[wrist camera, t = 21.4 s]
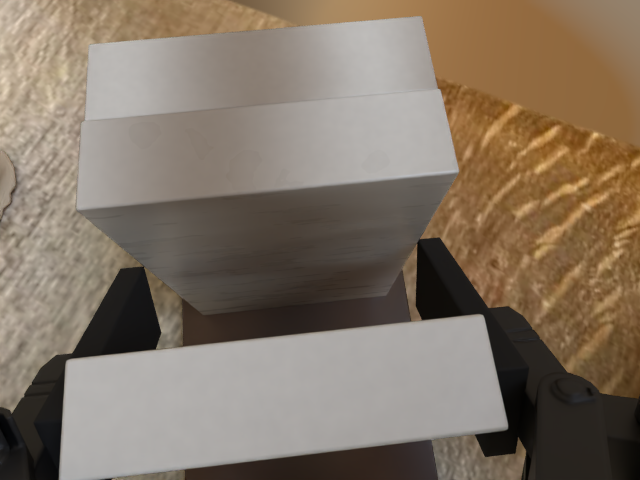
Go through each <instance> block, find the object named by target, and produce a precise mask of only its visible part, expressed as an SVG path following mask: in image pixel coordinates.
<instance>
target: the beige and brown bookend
mask: <svg viewBox="0 0 640 480" xmlns="http://www.w3.org/2000/svg"><path fill="white" fill-rule="evenodd" d="M84 120H85V121H82V122H81V126H80V143H79V160H78V176H77V193H76V210H77V211H78V212H79V213H80V214H82V215H83V216H84V217H85V218H86V219H88V220H89V221H90V222H91V223H92V224H94V225H95V226H96V227H97V228H98V229H100V230H101V231H102V232H103V233H105V234H106V235H107V236H108V237H109V238H111V239H112V240H113V241H114V242H115V243H117V244H118V245H119V246H120V247H121V248H123V249H124V250H125V251H126V252H128V253H129V254H130V255H131V256H132V257H134V258H135V259H136V260H137V261H138V262H140V263H141V264H142V265H143V266H144V267H146V268H147V269H148V270H149V271H151V272H152V273H153V274H154V275H155V276H157V277H158V278H159V279H160V280H161V281H163V282H164V283H165V284H166V285H167V286H169V287H170V288H171V289H172V290H173V291H175V292H176V293H177V294H178V295H180V296H181V297H182V315H183V346H193V345H202V344H211V343H220V342H229V341H238V340H247V339H256V338H266V337H275V336H284V335H293V334H302V333H311V332H320V331H329V330H339V329H348V328H357V327H366V326H375V325H384V324H393V323H402V322H411V318H410V312H409V306H408V300H407V295H406V289H405V283H404V277H403V271H402V268H403V266H404V264H405V263H406V261H407V259H408V258H409V256H410V254H411V253H412V251H413V249H414V248H415V246H416V244H417V242H418V241H419V239H420V237H421V236H422V234H423V232H424V231H425V229H426V227H427V226H428V224H429V222H430V220H431V219H432V217H433V215H434V214H435V212H436V210H437V209H438V207H439V205H440V204H441V202H442V200H443V199H444V197H445V195H446V193H447V192H448V190H449V188H450V187H451V185H452V183H453V182H454V180H455V178H456V177H457V175H458V173H459V168H458V164H457V160H456V155H455V151H454V146H453V142H452V138H451V133H450V129H449V124H448V120H447V115H446V111H445V107H444V102H443V98H442V93H441V90H440V89H438V87H437V83H436V78H435V74H434V69H433V65H432V60H431V56H430V52H429V47H428V42H427V38H426V34H425V29H424V25H423V20H422V17H421V16H417V17H405V18H394V19H382V20H370V21H359V22H348V23H336V24H323V25H312V26H299V27H288V28H276V29H264V30H252V31H241V32H229V33H217V34H205V35H193V36H182V37H170V38H158V39H146V40H135V41H123V42H111V43H99V44H90V45H89V49H88V66H87V84H86V101H85V119H84ZM185 480H438V476H437V470H436V464H435V458H434V452H433V447H432V441H431V440H424V441H416V442H408V443H400V444H391V445H383V446H375V447H367V448H358V449H350V450H342V451H334V452H325V453H317V454H309V455H301V456H292V457H284V458H276V459H268V460H259V461H251V462H243V463H234V464H226V465H218V466H210V467H201V468H193V469H185Z"/></svg>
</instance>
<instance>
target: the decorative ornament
mask: <svg viewBox="0 0 640 480" xmlns="http://www.w3.org/2000/svg"><path fill="white" fill-rule="evenodd" d="M15 187H16V178H15V169H14V166H13V163H12V162H11V160H10V159H9V157H8V156H7V154H6V153H5V152H4V151H0V221H1V218H2V214H3V210H4V208H6V207H7V206H8V205H9V204H10V203H11V192H12V191H13V189H14V188H15Z"/></svg>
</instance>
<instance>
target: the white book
mask: <svg viewBox="0 0 640 480" xmlns="http://www.w3.org/2000/svg"><path fill="white" fill-rule="evenodd" d="M507 429H508V422H507V417H506V413H505V408H504V404H503V399H502V395H501V390H500V386H499V381H498V377H497V372H496V368H495V363H494V359H493V354H492V350H491V345H490V341H489V336H488V332H487V327H486V323H485V318H484V316H483V315H480V314H475V315H466V316H457V317H448V318H439V319H430V320H421V321H412V322H402V323H393V324H384V325H375V326H366V327H357V328H348V329H339V330H329V331H320V332H311V333H302V334H293V335H284V336H275V337H266V338H256V339H247V340H238V341H229V342H220V343H211V344H202V345H193V346H183V347H174V348H165V349H156V350H147V351H138V352H129V353H120V354H110V355H101V356H92V357H83V358H74V359H69V360H67V361H66V365H65V381H64V398H63V415H62V432H61V449H60V465H59V480H102V479H111V478H119V477H127V476H135V475H144V474H152V473H160V472H168V471H177V470H185V469H193V468H201V467H210V466H218V465H226V464H234V463H243V462H251V461H259V460H268V459H276V458H284V457H292V456H301V455H309V454H317V453H325V452H334V451H342V450H350V449H358V448H367V447H375V446H383V445H391V444H400V443H408V442H416V441H424V440H433V439H441V438H449V437H457V436H466V435H474V434H482V433H490V432H499V431H505V430H507Z"/></svg>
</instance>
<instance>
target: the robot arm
mask: <svg viewBox="0 0 640 480" xmlns="http://www.w3.org/2000/svg"><path fill="white" fill-rule="evenodd" d="M416 308H417V310H418V312H419V314H420V316H421V319H422V320H430V319H439V318H448V317H457V316H466V315H475V314H480V315H483V316H484V318H485V323H486V327H487V332H488V336H489V341H490V345H491V350H492V354H493V359H494V363H495V368H496V372H497V377H498V381H499V386H500V390H501V395H502V399H503V404H504V408H505V413H506V417H507V422H508V429H507V430H505V431H499V432H490V433H482V434H475V436H476V438H477V440H478V442H479V445H480V447H481V449H482V451H483V453H484V456H485V457H490V456H498V455H506V454H515V453H516V446H517V440H518V437H519V439H520V441H521V442H522V444H523V446H524V448H525V450H526V456H525V462H524V467H523V473H522V479H521V480H640V396H639V399H636V398H628V397H620V396H612V395H607V394H602V393H600V392H599V390H598V389H597V388H596V387H595V386H594V385H593V384H592V383H591V382H589V381H587V380H586V379H584V378H582V377H580V376H577V375H574V374H571V373H567V372H566V370H565V369H564V368H563V366H562V365H561V364H560V363H559V361H558V360H557V359H556V358H555V356H554V355H553V354H552V352H551V351H550V350H549V349H548V347H547V346H546V345H545V344H544V342H543V341H542V340H540V337H539V336H538V335H537V333H536V332H535V331H534V330H532V327H531V326H530V324H529V323H528V322H527V321H526V319H525V318H524V317H523V316H522V315H521V314H519V313H518V312H516V311H514V310H513V309H511V308H510V307H508V306H506V307H497V308H488V307H487V305H486V304H485V303H484V301H483V300H482V298H481V297H480V295H479V294H478V292H477V291H476V290H475V288H474V287H473V285H472V284H471V282H470V281H469V279H468V278H467V277H466V275H465V274H464V272H463V271H462V269H461V268H460V266H459V265H458V264H457V262H456V261H455V259H454V258H453V256H452V255H451V253H450V252H449V251H448V249H447V248H446V246H445V245H444V243H443V242H442V240H441V239H440V238H429V239H419V241H418V242H417V280H416ZM160 335H161V330H160V326H159V323H158V319H157V315H156V311H155V307H154V303H153V300H152V296H151V292H150V288H149V284H148V281H147V277H146V273H145V269H144V267H133V268H123V269H120V271H119V273H118V274H117V276H116V278H115V280H114V281H113V283H112V285H111V287H110V288H109V290H108V292H107V294H106V295H105V297H104V299H103V301H102V302H101V304H100V306H99V308H98V310H97V311H96V313H95V315H94V317H93V318H92V320H91V322H90V324H89V325H88V327H87V329H86V331H85V332H84V334H83V336H82V338H81V339H80V341H79V343H78V345H77V346H76V348H75V350H74V352H73V353H72V354H62V355H56V356H55V357H53V358H52V359H51V360H50V361H49V362H48V363H46V364H45V365H44V366H43V367H42V368H41V369H40V370H39V372H38V373H37V375H36V377H35V378H34V380H33V381H32V385H30V386H29V388H28V389H27V391H26V392H25V394H24V397H22V399H21V400H20V402H19V404H18V405H17V407H16V408H15V410H14V411H13V413H12V414H11V412H10V410H7V409H5V408H2V407H0V480H59V465H60V449H61V432H62V415H63V398H64V381H65V365H66V361H67V360H69V359H74V358H83V357H92V356H101V355H110V354H120V353H129V352H138V351H147V350H156V347H157V344H158V341H159V338H160ZM102 480H112V478H111V479H102Z"/></svg>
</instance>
